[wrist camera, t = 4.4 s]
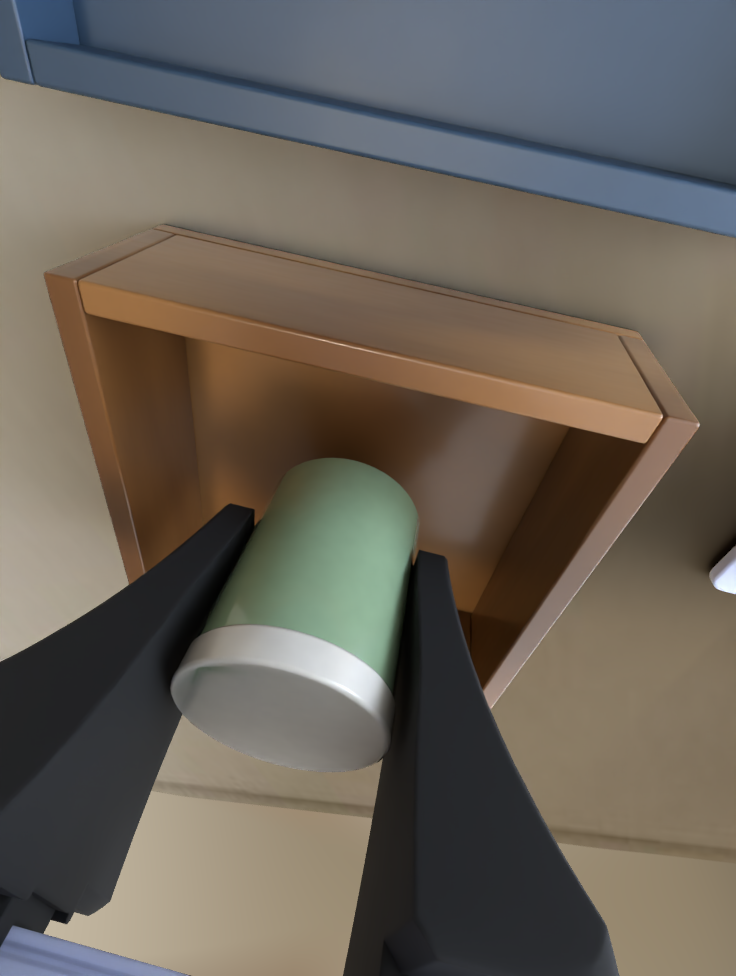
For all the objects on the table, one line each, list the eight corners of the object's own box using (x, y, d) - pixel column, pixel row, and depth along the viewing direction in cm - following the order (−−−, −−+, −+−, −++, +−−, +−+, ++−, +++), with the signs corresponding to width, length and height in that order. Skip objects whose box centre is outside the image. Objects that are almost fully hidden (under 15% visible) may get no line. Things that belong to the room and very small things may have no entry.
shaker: (439, 477, 11) (414, 701, 7) (403, 583, 14) (370, 791, 10) (272, 437, 11) (153, 633, 7) (268, 549, 14) (180, 739, 10)
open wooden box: (639, 331, 11) (703, 425, 8) (482, 615, 18) (483, 720, 15) (161, 223, 11) (41, 271, 8) (197, 544, 18) (142, 633, 15)
